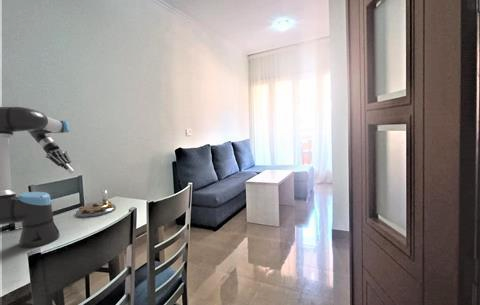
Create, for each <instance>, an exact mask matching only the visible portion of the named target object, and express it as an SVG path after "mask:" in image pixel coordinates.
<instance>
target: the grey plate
mask: <svg viewBox="0 0 480 305" xmlns="http://www.w3.org/2000/svg"><path fill="white" fill-rule="evenodd" d="M111 204H112V208H108V209H107V210H105V211H99V212H95V213H91V214H90V213H83V214H82V213H80V211H79V209H78V210H77V211H76V212H75V215H76V217H77V218H82V219H83V218H84V219H86V218H87V219H88V218H96V217H101V216H104V215H107V214H110V213H112V212H114V211H116V208H117V206H116V204H114V203H111Z"/></svg>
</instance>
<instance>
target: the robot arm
mask: <svg viewBox="0 0 480 305" xmlns="http://www.w3.org/2000/svg"><path fill="white" fill-rule="evenodd" d="M70 130H71V125H70V122H69V121H68V120H58V119H55V118H52V117H49V116H47V115H46V114H45V113H43V112H41V111H39V110H35V109H33V108H32V109H31V108H28V107H22V106H0V225H8V224H15V223H21V226H22V227H21V228H22V229H21V232H20V237H19V240H18V242H19V243H18V244H19V247H20V248H23V249H31V248H36V247H40V246H44V245H48V244H50V243H52V242H54V241H56V240H58V239H59V238H60V230H59V228H58V227H57V225H56V223H55V222H54V216H53V213H54V212H53V206H52V204H53V202H52V199H51V195H50V194H49V193H48V192H44V191H29V192H27V191H26V192H21V193H19V194H18V196H17V193H16V192H14V191H13V190H12V178H11V175H12V174H11V153H10V139H12V138H13V137H14V132H25V131H26V132H28V134H29V135H30V136H31V137H32V138H33V139H34V140H35V141H36V143H37V144H38V145H39V146H40V147H41V148H42V150H44V152H45V153H46V155H45V158H47V159H49V160H50V161H51V162H52V163H54V164H55V165H56V166H58V167H61V168H63V169H64V170H65V171H67V172H68V173H69V175H70V174H71V175H72V174H73V173H74V172H75V170H74V169H73V166H72V165H71V162H72V161H71V159H70V157H69V155H68V152H67V151H62V150H61V149H60V146H59V145H58V144H57V143H56V142H55V140H54V139H53V138H52V137H51V136H50V135H49V134H61V133H62V134H65V133H66V134H67V133H69V132H70Z"/></svg>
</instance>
